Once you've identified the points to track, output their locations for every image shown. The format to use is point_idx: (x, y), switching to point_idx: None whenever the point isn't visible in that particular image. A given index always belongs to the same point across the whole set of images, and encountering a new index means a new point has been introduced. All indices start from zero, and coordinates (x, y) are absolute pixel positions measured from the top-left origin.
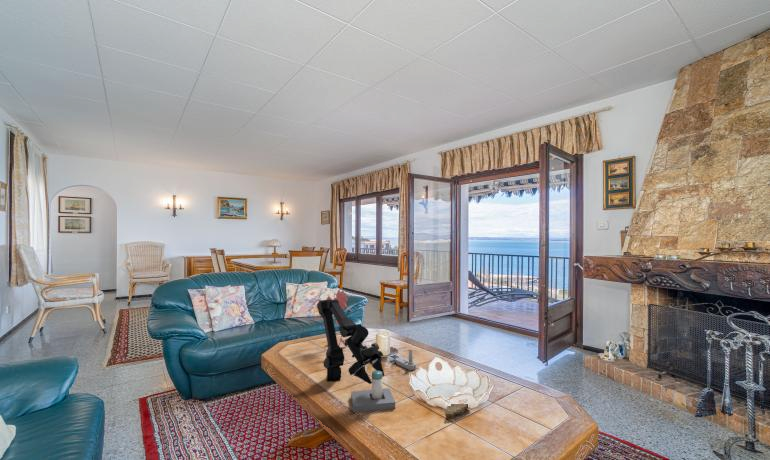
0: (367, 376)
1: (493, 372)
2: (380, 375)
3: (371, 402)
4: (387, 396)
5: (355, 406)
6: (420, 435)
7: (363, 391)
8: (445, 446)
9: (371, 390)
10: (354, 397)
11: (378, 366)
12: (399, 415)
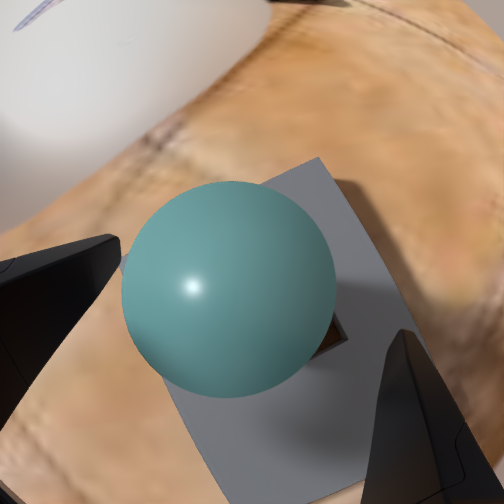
0: (448, 407)
1: (18, 27)
2: (281, 203)
3: (382, 324)
4: None
5: None
6: (463, 60)
7: (215, 446)
8: (461, 16)
9: (180, 389)
10: (333, 478)
11: (11, 316)
12: (381, 140)
